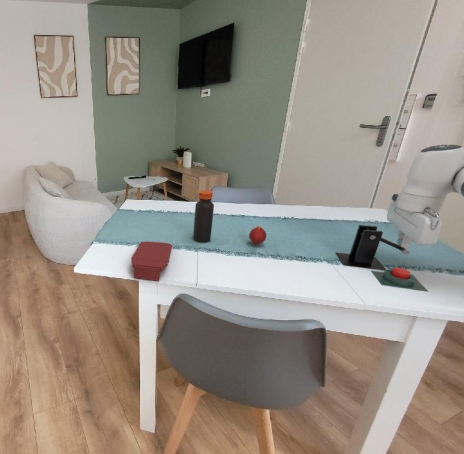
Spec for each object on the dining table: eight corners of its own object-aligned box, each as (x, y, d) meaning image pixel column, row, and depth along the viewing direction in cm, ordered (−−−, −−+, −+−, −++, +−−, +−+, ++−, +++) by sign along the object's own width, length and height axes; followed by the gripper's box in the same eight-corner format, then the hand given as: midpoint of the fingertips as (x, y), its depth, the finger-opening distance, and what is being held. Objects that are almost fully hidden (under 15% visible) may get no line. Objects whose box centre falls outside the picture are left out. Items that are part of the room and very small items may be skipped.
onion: (249, 240, 115) (252, 221, 112) (265, 243, 112) (269, 224, 109) (246, 245, 111) (249, 226, 108) (263, 249, 108) (266, 229, 105)
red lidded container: (141, 252, 118) (127, 276, 95) (141, 240, 117) (128, 262, 94) (171, 255, 114) (165, 281, 91) (172, 243, 113) (166, 267, 90)
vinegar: (191, 236, 122) (194, 189, 114) (207, 235, 121) (212, 189, 113) (195, 243, 115) (199, 194, 107) (212, 242, 115) (217, 194, 107)
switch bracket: (374, 259, 97) (386, 224, 92) (386, 273, 90) (400, 236, 85) (334, 255, 101) (344, 221, 96) (342, 268, 94) (354, 232, 89)
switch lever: (397, 249, 92) (403, 243, 91) (405, 256, 88) (412, 250, 87) (358, 231, 94) (364, 225, 93) (364, 237, 90) (370, 231, 89)
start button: (404, 273, 85) (406, 268, 84) (411, 280, 82) (413, 275, 81) (388, 271, 86) (390, 266, 85) (394, 278, 83) (396, 273, 82)
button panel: (411, 279, 87) (415, 270, 85) (426, 294, 80) (431, 285, 79) (369, 273, 90) (372, 265, 89) (380, 288, 83) (384, 279, 82)
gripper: (457, 216, 74) (435, 263, 79) (415, 193, 91) (399, 233, 97) (424, 214, 76) (405, 259, 82) (389, 192, 93) (375, 231, 99)
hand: (402, 245), depth 89 cm, fingers closed, pressing on switch lever
